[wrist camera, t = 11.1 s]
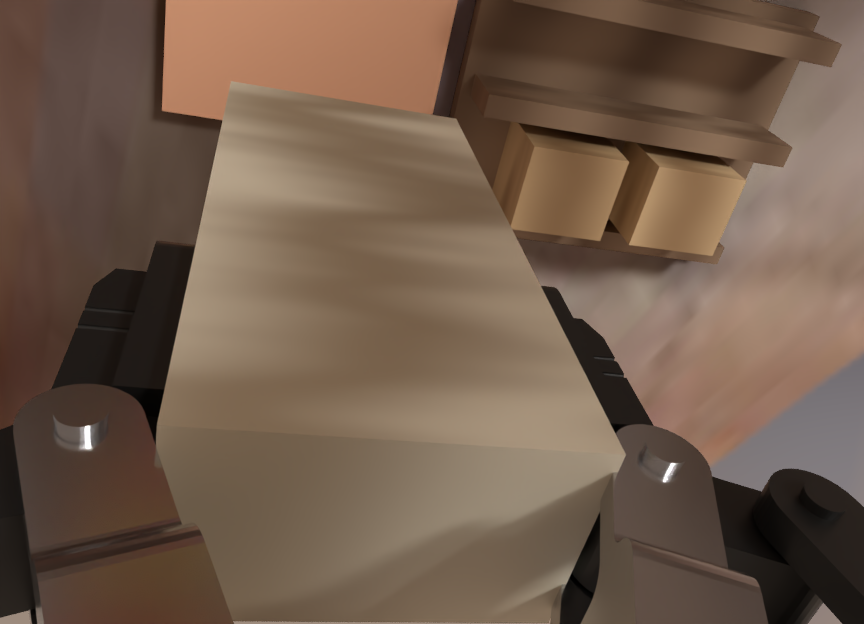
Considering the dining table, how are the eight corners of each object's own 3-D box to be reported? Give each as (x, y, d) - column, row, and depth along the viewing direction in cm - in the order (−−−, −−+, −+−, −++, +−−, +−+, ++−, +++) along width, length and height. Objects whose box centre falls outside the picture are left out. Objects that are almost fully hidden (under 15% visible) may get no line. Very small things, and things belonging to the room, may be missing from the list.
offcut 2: (708, 148, 39) (746, 180, 36) (678, 219, 41) (712, 256, 38) (628, 134, 38) (659, 166, 35) (601, 208, 40) (628, 245, 37)
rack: (808, 11, 37) (858, 32, 34) (701, 249, 44) (735, 286, 41) (490, -60, 33) (511, -45, 30) (426, 212, 40) (438, 249, 37)
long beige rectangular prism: (456, 118, 18) (625, 454, 9) (428, 234, 19) (548, 623, 10) (230, 81, 17) (156, 424, 8) (220, 208, 18) (148, 619, 9)
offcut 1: (600, 130, 38) (629, 161, 35) (574, 204, 40) (600, 241, 37) (512, 115, 37) (534, 146, 34) (491, 192, 39) (510, 228, 36)
